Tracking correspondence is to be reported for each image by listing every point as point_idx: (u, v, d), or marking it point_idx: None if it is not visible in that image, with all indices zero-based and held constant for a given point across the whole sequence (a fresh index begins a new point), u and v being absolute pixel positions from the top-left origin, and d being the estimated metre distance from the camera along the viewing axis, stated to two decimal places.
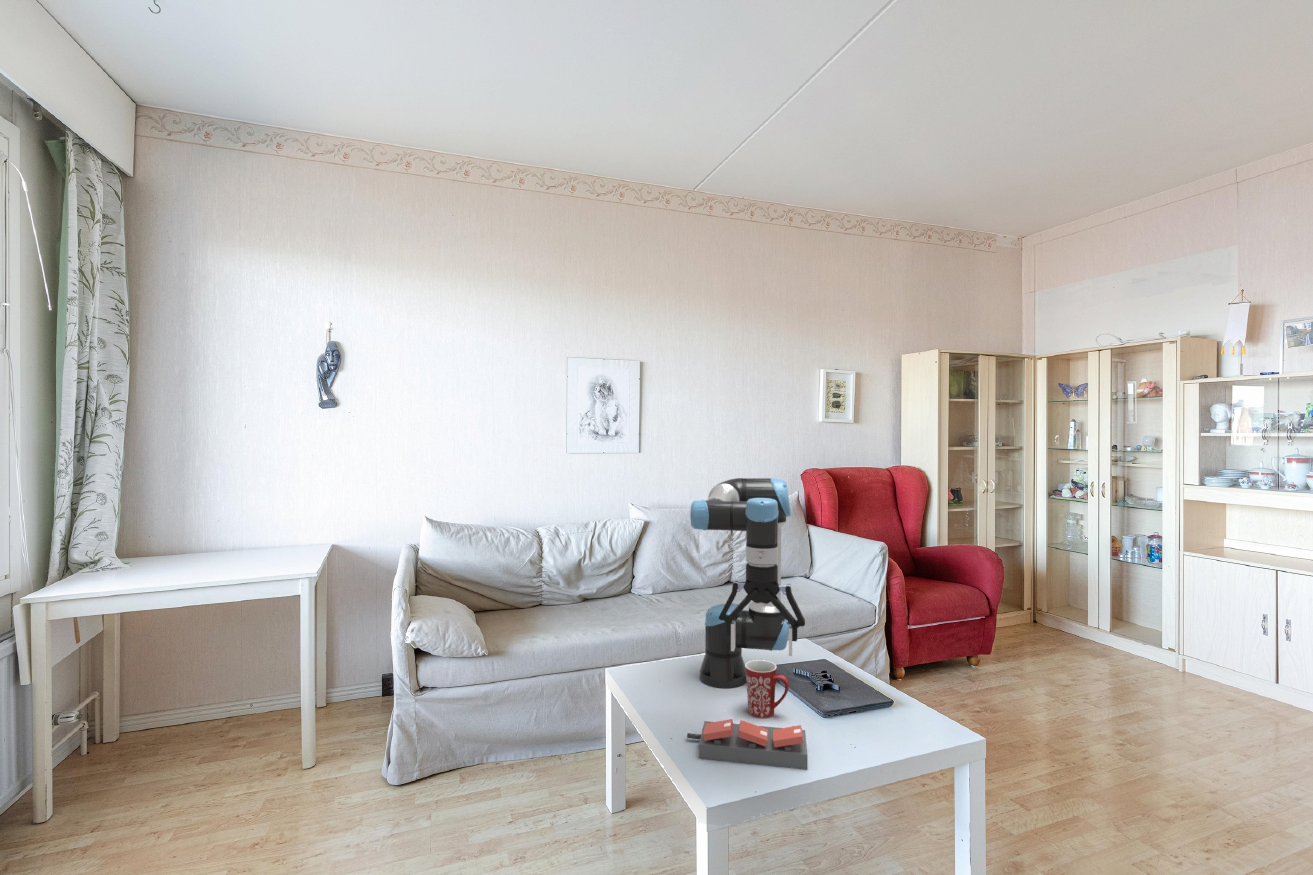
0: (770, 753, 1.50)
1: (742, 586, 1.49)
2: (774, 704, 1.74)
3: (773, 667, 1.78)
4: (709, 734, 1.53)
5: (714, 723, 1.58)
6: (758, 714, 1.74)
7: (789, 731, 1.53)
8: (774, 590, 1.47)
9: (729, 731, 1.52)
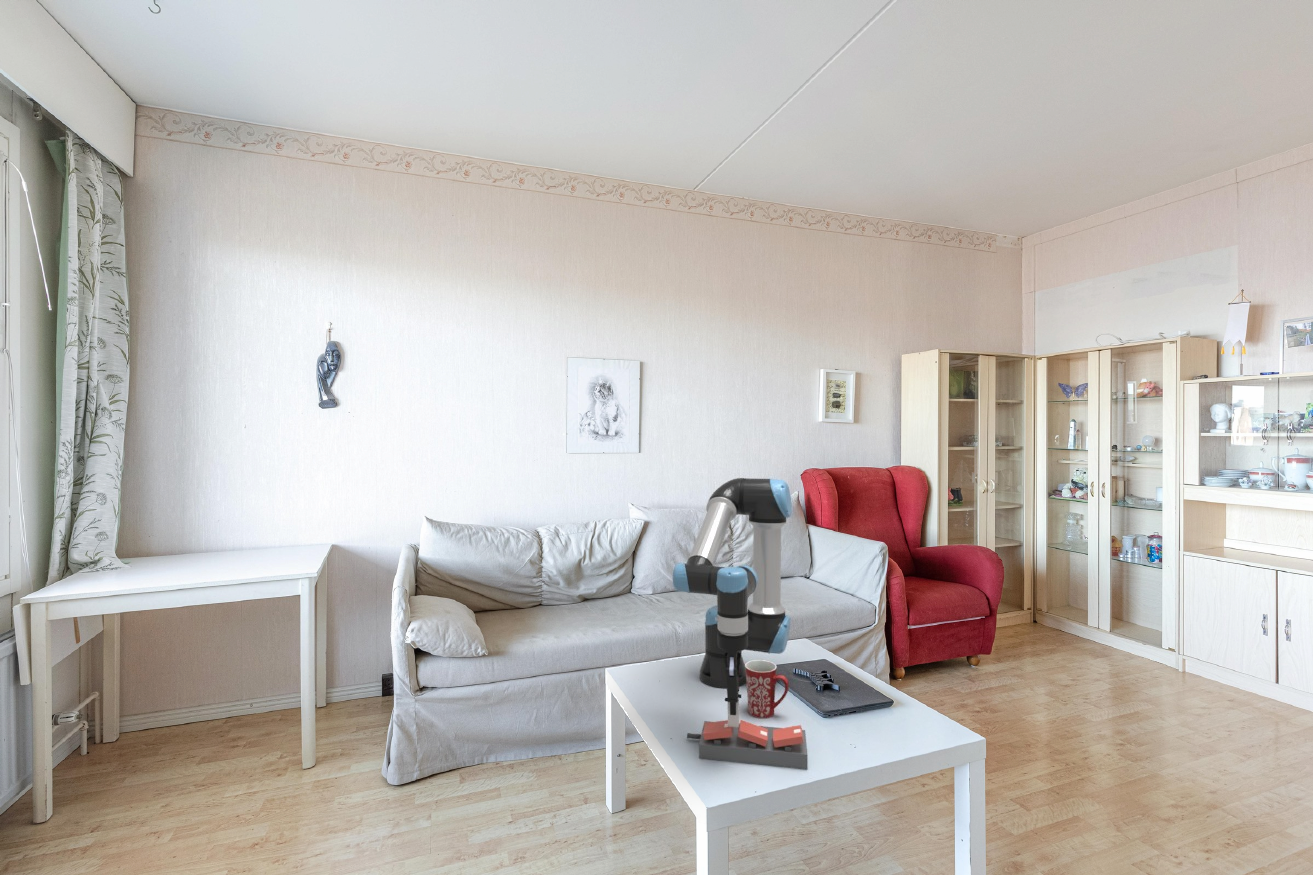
0: (770, 753, 1.50)
1: None
2: (774, 704, 1.74)
3: (773, 667, 1.78)
4: (709, 733, 1.53)
5: (714, 723, 1.58)
6: (758, 714, 1.74)
7: (789, 731, 1.53)
8: None
9: (729, 732, 1.52)
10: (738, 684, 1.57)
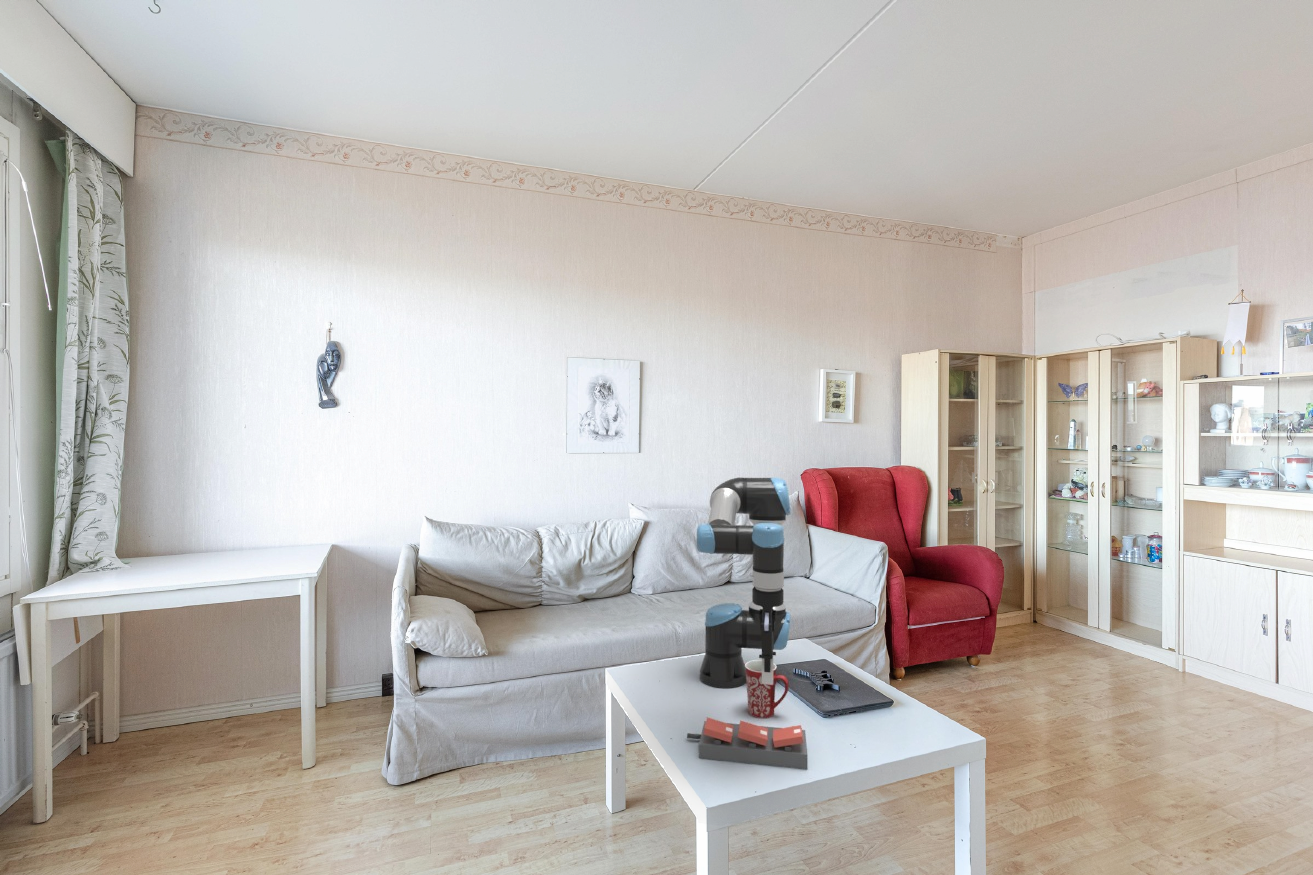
0: (770, 753, 1.50)
1: None
2: (774, 704, 1.74)
3: (773, 667, 1.78)
4: (710, 730, 1.53)
5: (715, 721, 1.58)
6: (758, 714, 1.74)
7: (789, 731, 1.53)
8: (762, 614, 1.50)
9: (730, 737, 1.52)
10: None
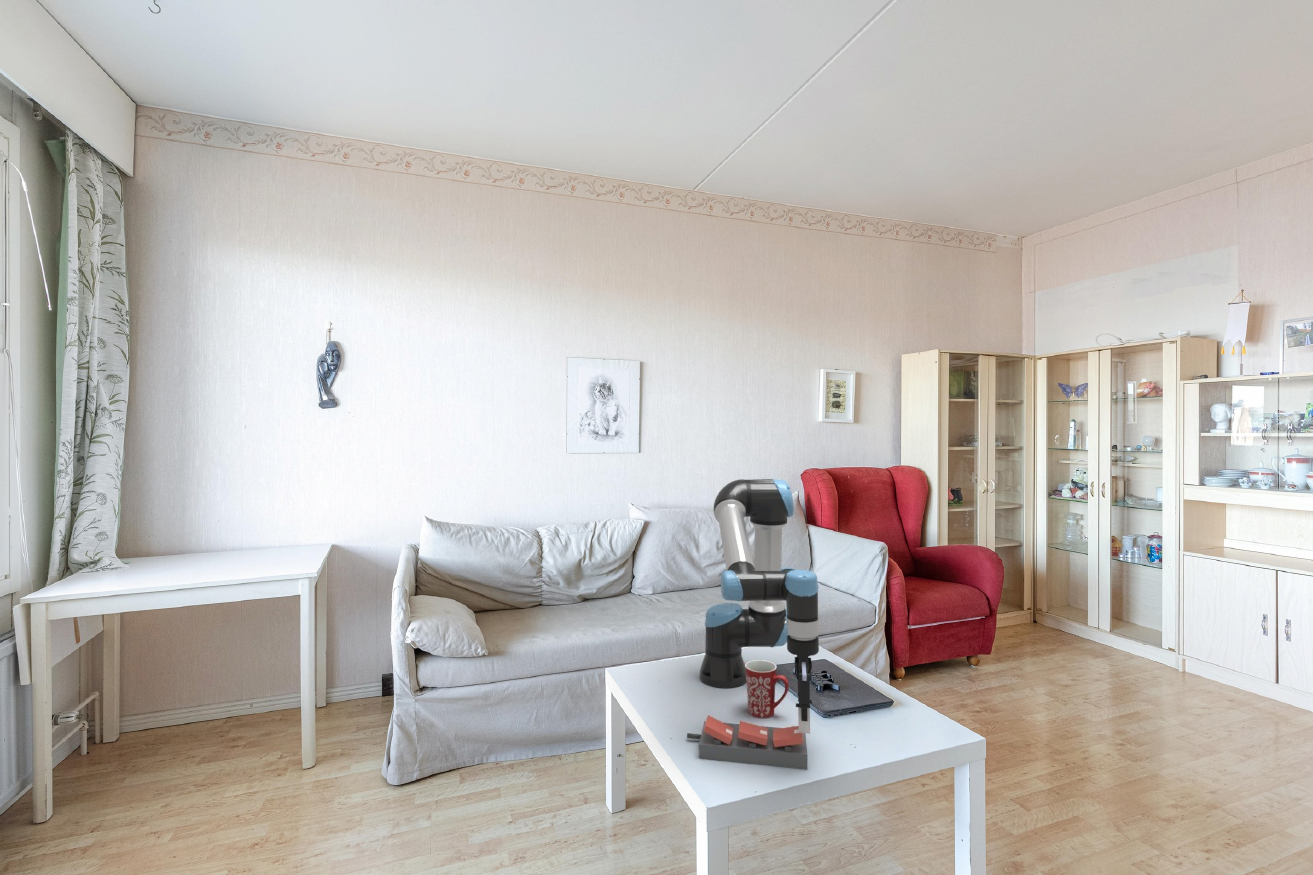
0: (770, 753, 1.50)
1: None
2: (774, 704, 1.74)
3: (773, 667, 1.78)
4: (711, 729, 1.53)
5: (716, 721, 1.58)
6: (758, 714, 1.74)
7: (789, 731, 1.53)
8: (798, 664, 1.49)
9: (729, 740, 1.53)
10: None
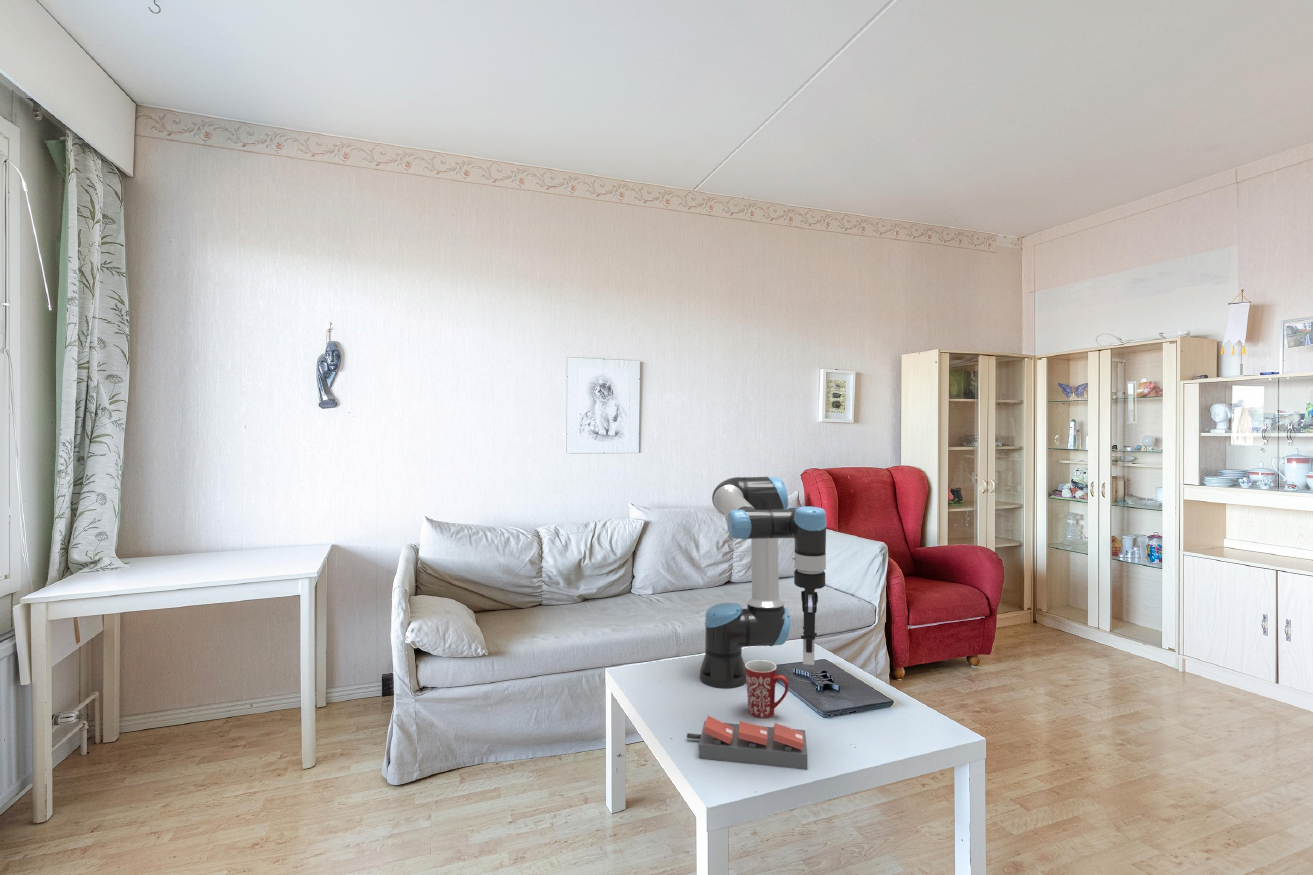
0: (770, 753, 1.50)
1: None
2: (774, 704, 1.74)
3: (773, 667, 1.78)
4: (710, 729, 1.53)
5: (716, 721, 1.58)
6: (758, 714, 1.74)
7: (791, 732, 1.53)
8: (805, 596, 1.52)
9: (730, 739, 1.52)
10: None
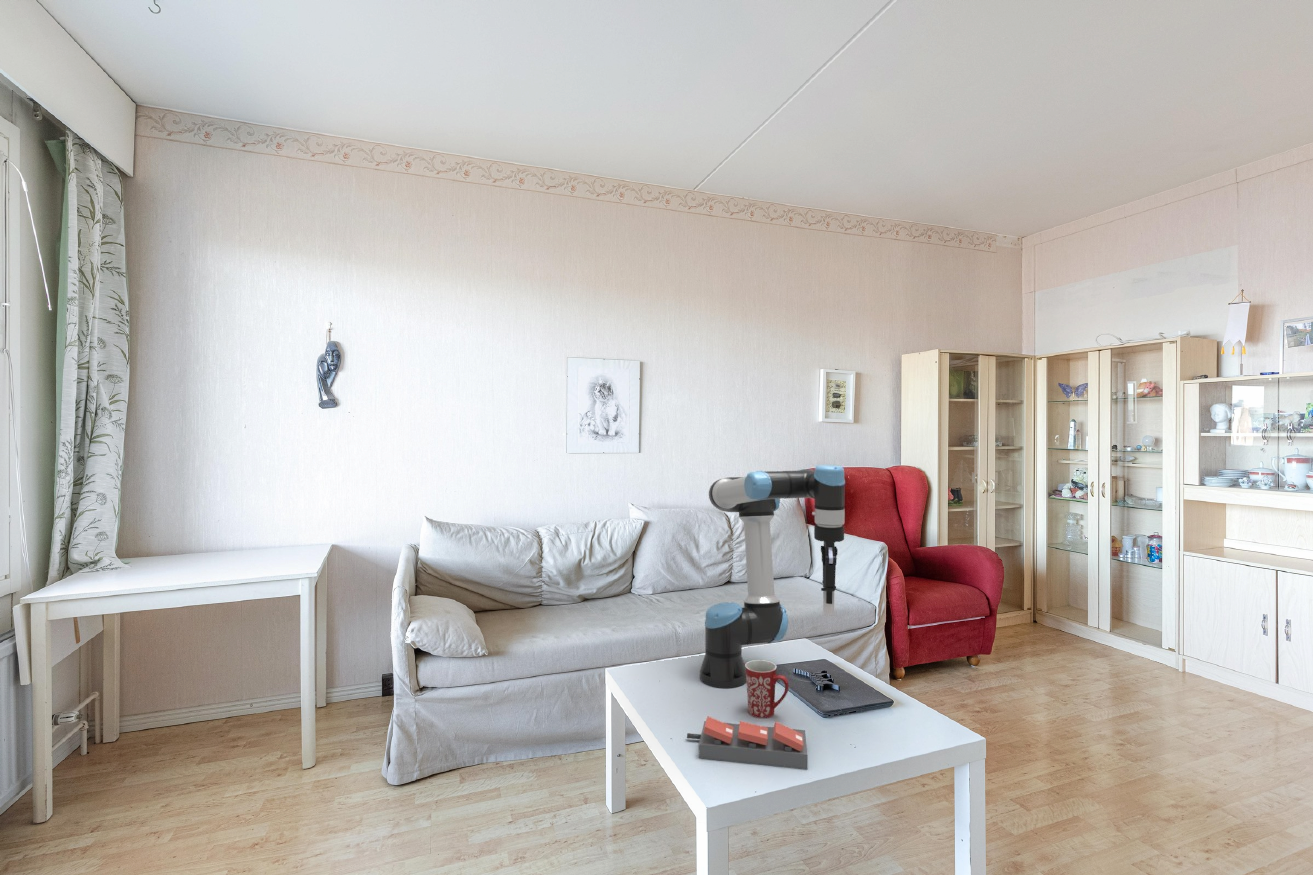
0: (770, 753, 1.50)
1: None
2: (774, 704, 1.74)
3: (773, 667, 1.78)
4: (710, 730, 1.53)
5: (716, 721, 1.58)
6: (758, 714, 1.74)
7: (791, 732, 1.53)
8: (825, 549, 1.59)
9: (730, 739, 1.52)
10: None
